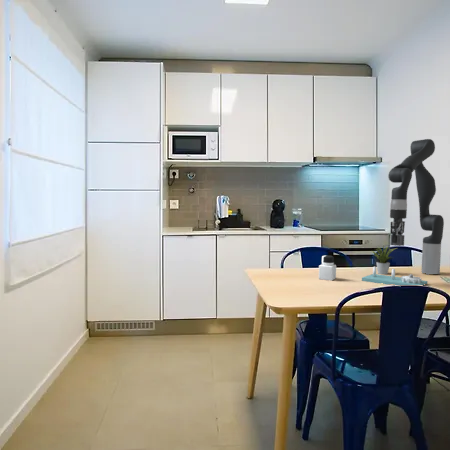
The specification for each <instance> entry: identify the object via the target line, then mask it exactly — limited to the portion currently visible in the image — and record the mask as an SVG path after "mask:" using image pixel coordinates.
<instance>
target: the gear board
mask: <svg viewBox="0 0 450 450" xmlns="http://www.w3.org/2000/svg"><path fill="white" fill-rule="evenodd" d="M361 281H363V282H368V283H369V282H370V283H375V284H376V283H377V284H381V283H383V284H382V285H388V284H395V285H424V284H427V285H428V284H429V283H428V280H424V279H423V280H422V278H421V277H420V276H415V275H414V274H413V273H411V274H408V275H402V276H401V277H399V276H396V269H395V268H392V269H391V276H390V275H387V274H378V273H377V266H373V267H372V274H369V275H366V276H363V277H361ZM395 285H394V286H395Z"/></svg>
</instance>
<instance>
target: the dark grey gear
mask: <svg viewBox="0 0 450 450" xmlns="http://www.w3.org/2000/svg"><path fill="white" fill-rule="evenodd" d="M389 240H390V241H389V245H390V246H394V247H395V246H396V247H404V246H405V235H404V234H402V235H397V243H392V234H390V239H389Z"/></svg>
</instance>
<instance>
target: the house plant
mask: <svg viewBox="0 0 450 450" xmlns="http://www.w3.org/2000/svg"><path fill="white" fill-rule="evenodd" d="M382 247H383V248H381V247H379V246H376V248H374V250H375V251H376V252H375V251H372V250H371V252H372V254H374V255H373V256H374V257H376V258H377V259H378V261H376V272H377V274H378V275H389V270H390V269H389V268H390V264H391V263H390V262H388V260H394V258H395V257H394V256H389V255H390V254H392V252H393V251H394V250H396V249H397V247H396V248H393V247H392V246H391V247H390V248H392V249H390V248H389V246H386V247H385V245H382ZM382 249H383V250H382Z"/></svg>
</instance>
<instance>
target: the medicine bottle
mask: <svg viewBox="0 0 450 450" xmlns="http://www.w3.org/2000/svg"><path fill="white" fill-rule="evenodd" d="M335 279H337V265H336V264H335V257H334V256H332V255H326V254H325V255H322V256H321V264H320V265H318V280H322V281H323V280H324V281H333V280H335Z"/></svg>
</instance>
